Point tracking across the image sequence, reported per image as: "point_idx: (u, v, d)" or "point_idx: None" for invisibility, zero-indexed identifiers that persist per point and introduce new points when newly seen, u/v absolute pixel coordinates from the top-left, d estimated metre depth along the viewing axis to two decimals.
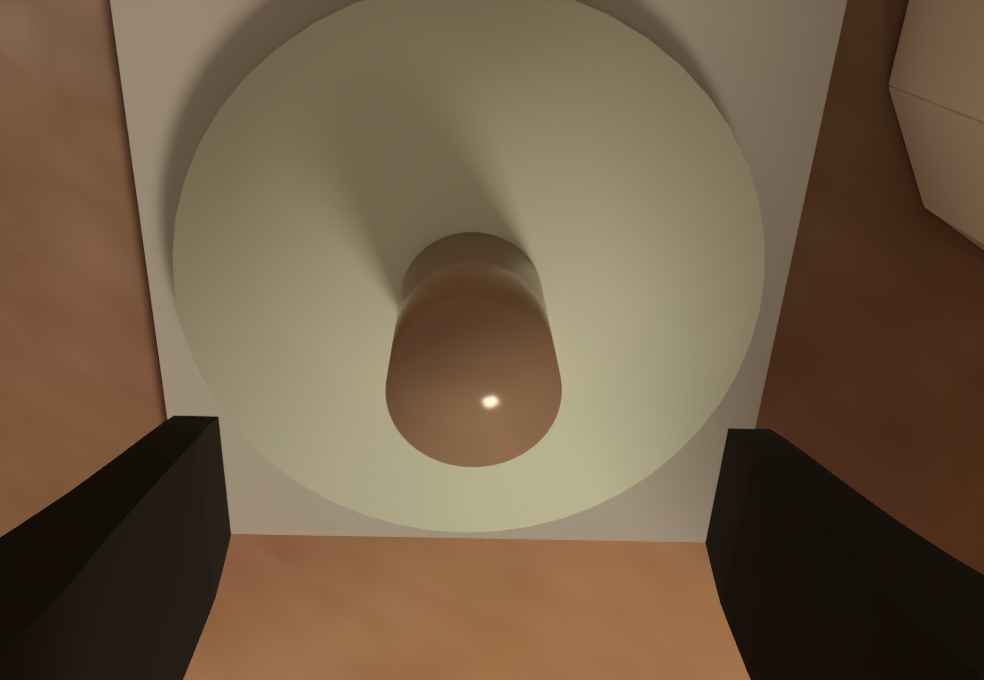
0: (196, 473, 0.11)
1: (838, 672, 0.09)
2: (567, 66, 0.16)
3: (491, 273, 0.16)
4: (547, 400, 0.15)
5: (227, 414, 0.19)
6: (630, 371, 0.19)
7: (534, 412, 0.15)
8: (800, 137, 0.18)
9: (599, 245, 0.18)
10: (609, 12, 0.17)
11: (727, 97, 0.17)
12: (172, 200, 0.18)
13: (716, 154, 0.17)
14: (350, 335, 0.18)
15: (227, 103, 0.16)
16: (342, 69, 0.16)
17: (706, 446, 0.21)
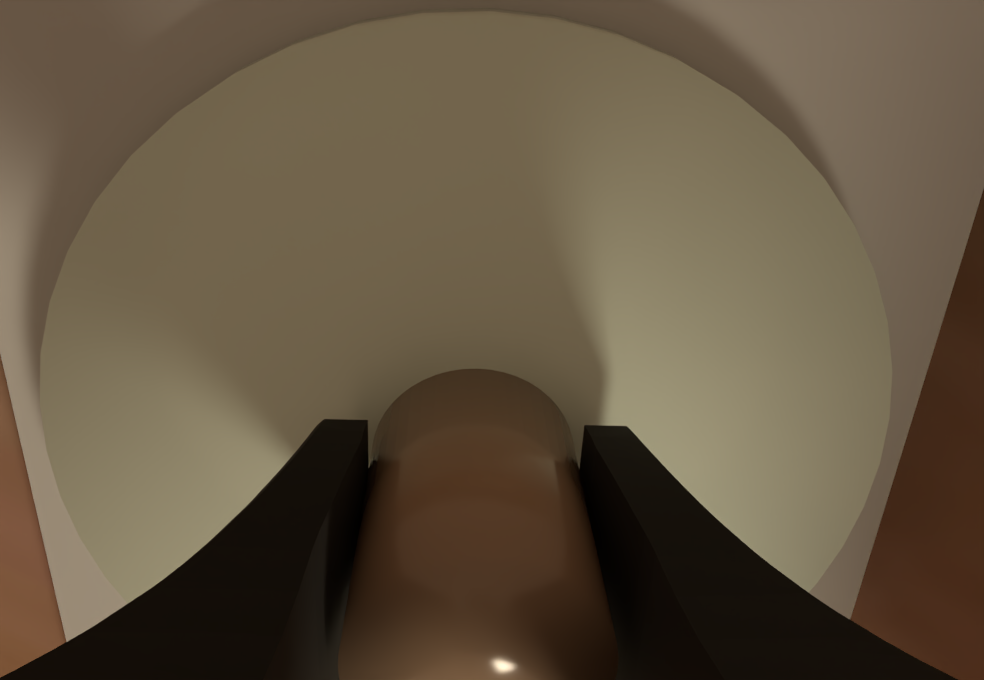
0: (358, 476, 0.11)
1: (645, 670, 0.09)
2: (615, 136, 0.11)
3: (503, 456, 0.10)
4: (595, 675, 0.09)
5: None
6: None
7: None
8: (945, 231, 0.12)
9: (656, 384, 0.12)
10: (678, 55, 0.11)
11: (844, 176, 0.12)
12: (43, 320, 0.12)
13: (831, 260, 0.12)
14: None
15: (105, 194, 0.11)
16: (277, 143, 0.11)
17: None
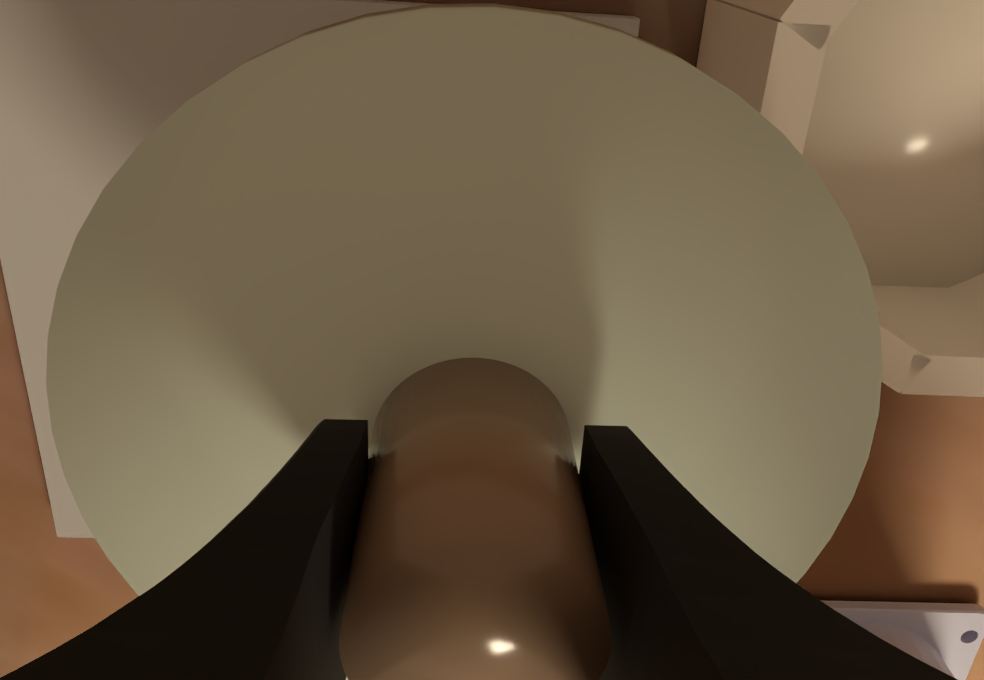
0: (358, 476, 0.11)
1: (646, 670, 0.09)
2: (616, 132, 0.11)
3: (502, 443, 0.10)
4: (588, 655, 0.10)
5: (135, 587, 0.14)
6: None
7: (569, 670, 0.10)
8: None
9: (651, 376, 0.13)
10: None
11: None
12: (27, 233, 0.19)
13: (825, 257, 0.12)
14: None
15: (115, 180, 0.11)
16: (284, 133, 0.11)
17: None
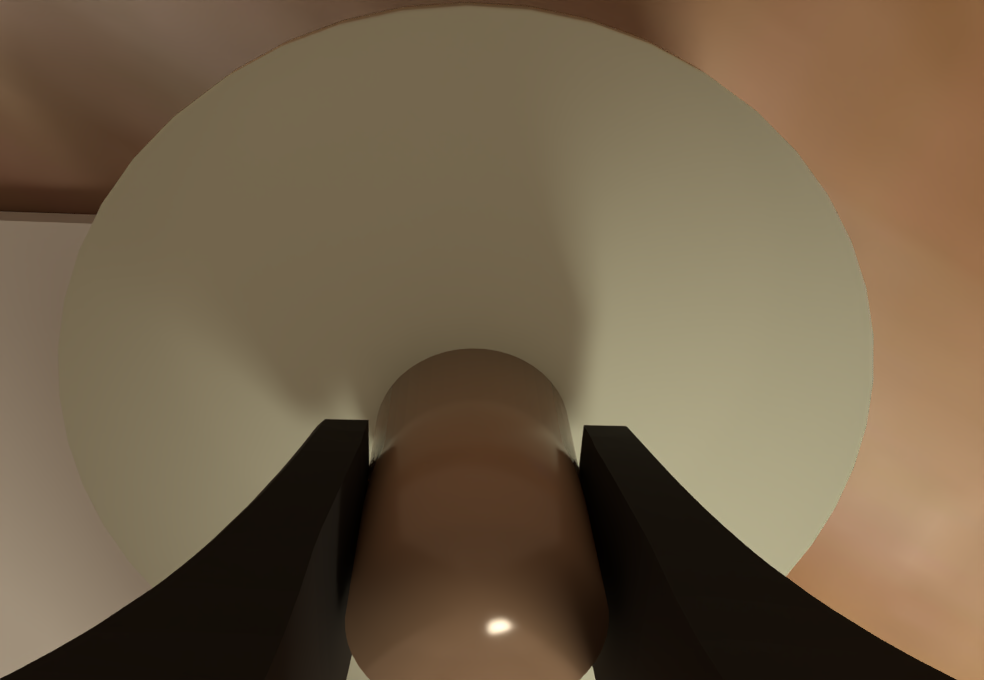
0: (359, 476, 0.11)
1: (645, 670, 0.09)
2: (638, 139, 0.11)
3: (511, 432, 0.11)
4: (585, 640, 0.10)
5: (128, 556, 0.14)
6: None
7: (564, 653, 0.10)
8: None
9: (652, 377, 0.13)
10: None
11: None
12: None
13: (827, 272, 0.12)
14: None
15: (145, 151, 0.11)
16: (316, 117, 0.11)
17: None
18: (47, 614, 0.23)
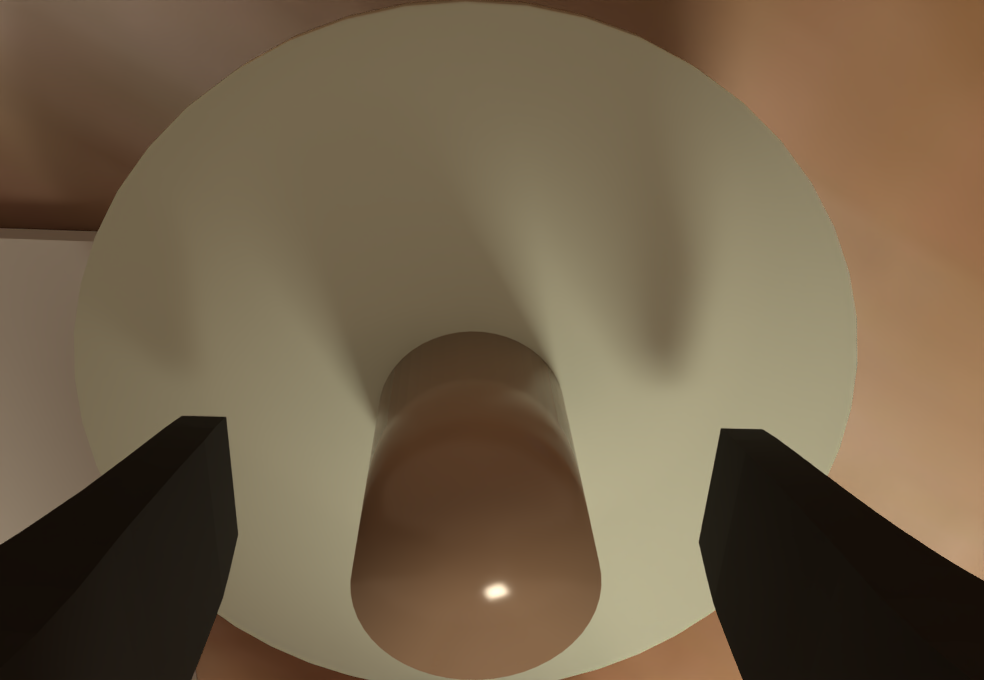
0: (204, 473, 0.11)
1: (828, 672, 0.09)
2: (629, 129, 0.12)
3: (508, 406, 0.11)
4: (579, 603, 0.10)
5: None
6: (666, 514, 0.15)
7: (559, 617, 0.11)
8: None
9: (645, 360, 0.14)
10: None
11: (45, 361, 0.18)
12: None
13: (811, 258, 0.13)
14: (308, 449, 0.14)
15: (159, 140, 0.12)
16: (323, 107, 0.12)
17: None
18: None
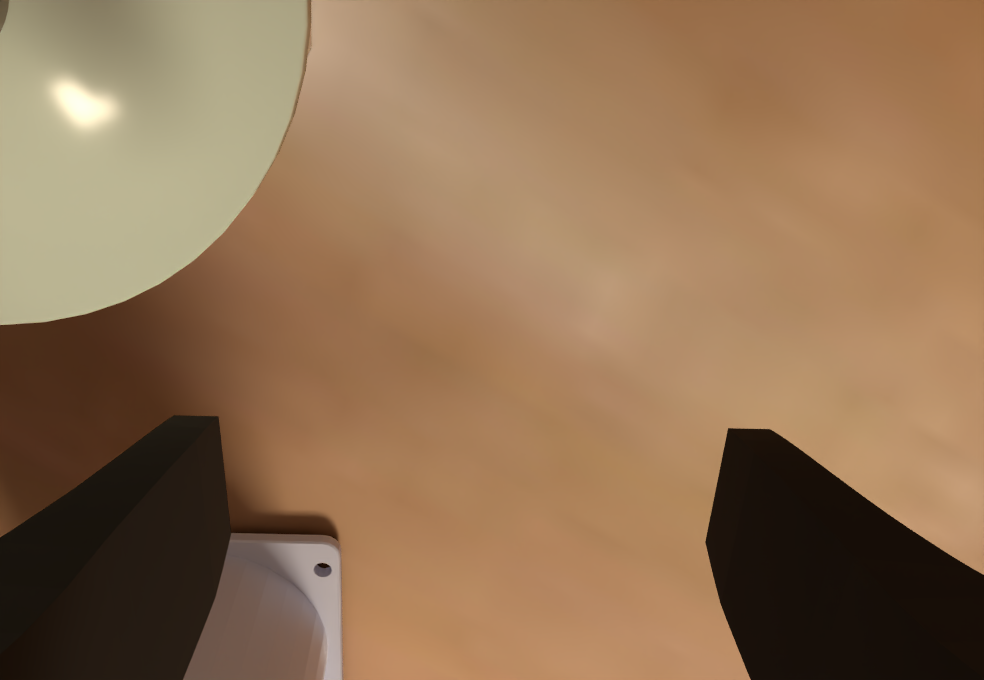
0: (196, 473, 0.11)
1: (838, 672, 0.09)
2: None
3: None
4: None
5: None
6: (145, 105, 0.15)
7: None
8: None
9: None
10: None
11: None
12: None
13: None
14: None
15: None
16: None
17: None
18: None
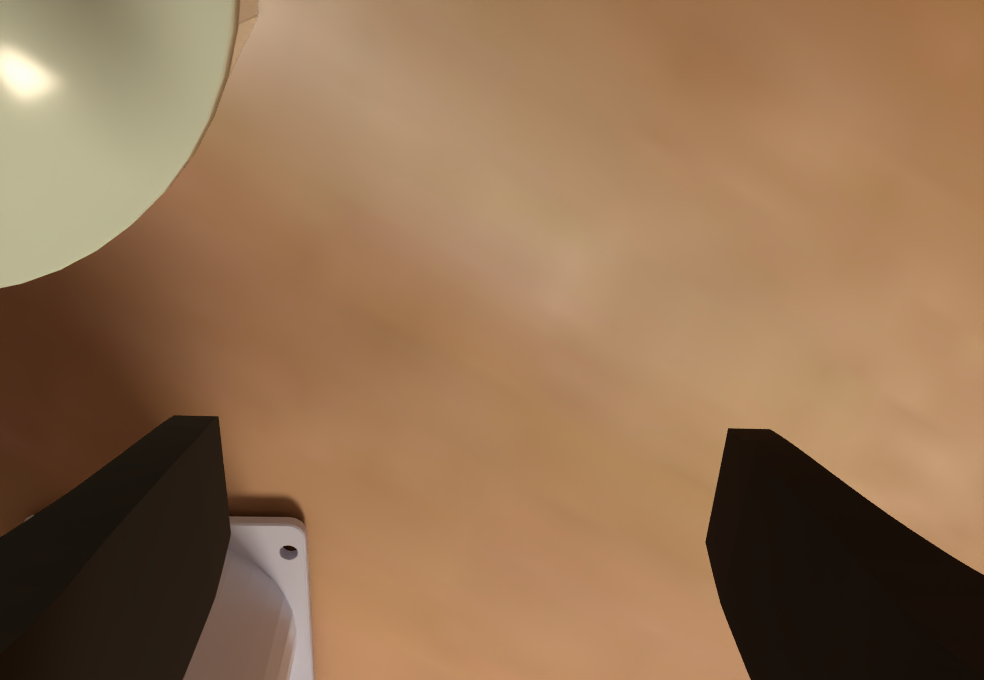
0: (196, 473, 0.11)
1: (838, 672, 0.09)
2: None
3: None
4: None
5: None
6: (71, 64, 0.14)
7: None
8: None
9: None
10: None
11: None
12: None
13: None
14: None
15: None
16: None
17: None
18: None
